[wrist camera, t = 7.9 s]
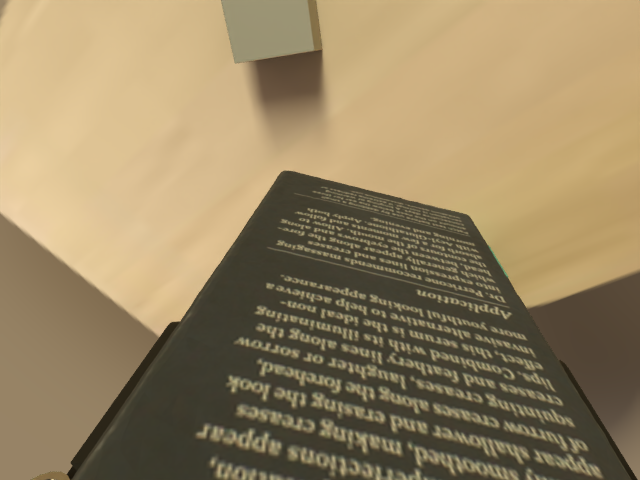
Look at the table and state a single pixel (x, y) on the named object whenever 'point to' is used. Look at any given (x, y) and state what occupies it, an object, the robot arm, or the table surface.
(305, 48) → the slate cube
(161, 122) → the table surface
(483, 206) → the table surface
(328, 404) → the box
